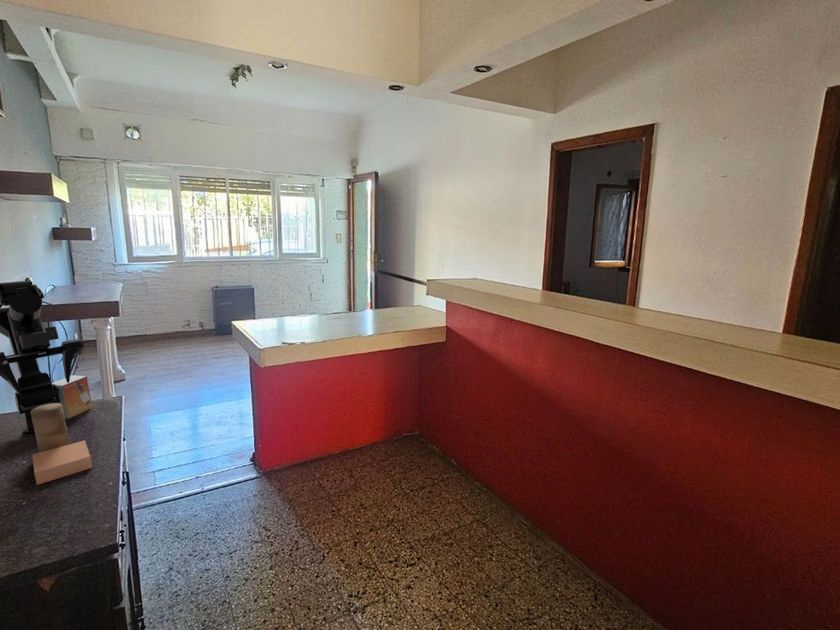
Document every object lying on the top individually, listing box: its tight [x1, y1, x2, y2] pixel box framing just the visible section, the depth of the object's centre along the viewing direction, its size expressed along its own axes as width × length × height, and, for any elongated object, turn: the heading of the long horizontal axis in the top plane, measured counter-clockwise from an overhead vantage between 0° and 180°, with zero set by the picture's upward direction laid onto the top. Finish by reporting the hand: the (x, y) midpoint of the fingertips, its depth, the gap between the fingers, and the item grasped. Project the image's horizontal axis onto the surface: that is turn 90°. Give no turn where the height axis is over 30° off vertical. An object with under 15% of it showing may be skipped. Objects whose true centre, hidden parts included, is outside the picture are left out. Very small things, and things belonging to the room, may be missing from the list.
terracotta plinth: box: [32, 440, 93, 486], centre depth 103 cm, size 10×10×3 cm
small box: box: [52, 374, 93, 420], centre depth 130 cm, size 8×6×10 cm
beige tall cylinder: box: [30, 403, 71, 453], centre depth 109 cm, size 6×6×12 cm
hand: (44, 387), depth 106 cm, fingers open, 9 cm apart
